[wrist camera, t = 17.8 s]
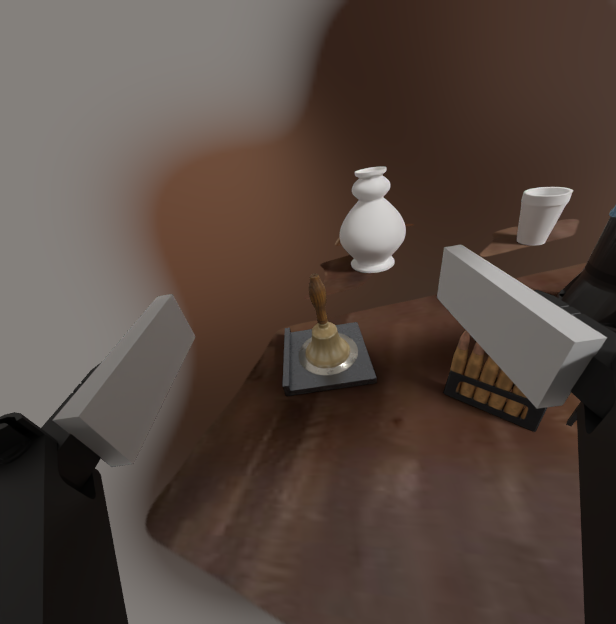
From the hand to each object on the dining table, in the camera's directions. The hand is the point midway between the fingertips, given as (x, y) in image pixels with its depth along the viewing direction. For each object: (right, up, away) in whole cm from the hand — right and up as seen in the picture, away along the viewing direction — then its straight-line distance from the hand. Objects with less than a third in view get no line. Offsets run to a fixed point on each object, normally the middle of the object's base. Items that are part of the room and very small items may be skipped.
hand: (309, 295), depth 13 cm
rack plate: (+3, -9, +35) cm, 37 cm away
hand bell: (+4, -8, +35) cm, 36 cm away
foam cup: (+63, +19, +60) cm, 89 cm away
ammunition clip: (+25, -14, +23) cm, 37 cm away
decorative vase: (+19, +14, +64) cm, 68 cm away
